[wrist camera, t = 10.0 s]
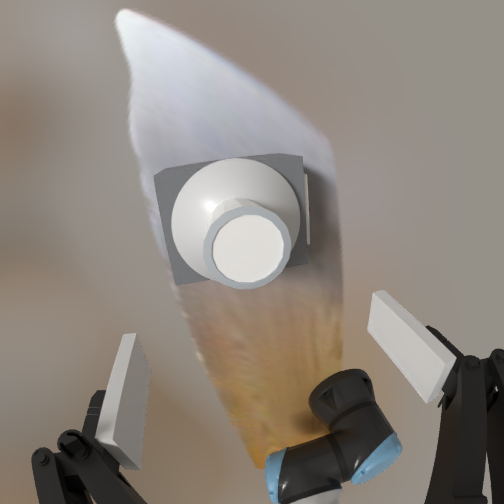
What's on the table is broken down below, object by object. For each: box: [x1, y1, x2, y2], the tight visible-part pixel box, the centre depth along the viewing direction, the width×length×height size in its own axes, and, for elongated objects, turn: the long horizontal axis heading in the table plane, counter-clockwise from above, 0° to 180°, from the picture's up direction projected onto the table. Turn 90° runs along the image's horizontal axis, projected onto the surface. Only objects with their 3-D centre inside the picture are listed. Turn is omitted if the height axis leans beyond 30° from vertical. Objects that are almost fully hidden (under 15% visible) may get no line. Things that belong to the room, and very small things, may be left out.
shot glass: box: [203, 197, 291, 289], centre depth 24 cm, size 7×7×7 cm
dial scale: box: [154, 154, 310, 285], centre depth 32 cm, size 13×16×10 cm
